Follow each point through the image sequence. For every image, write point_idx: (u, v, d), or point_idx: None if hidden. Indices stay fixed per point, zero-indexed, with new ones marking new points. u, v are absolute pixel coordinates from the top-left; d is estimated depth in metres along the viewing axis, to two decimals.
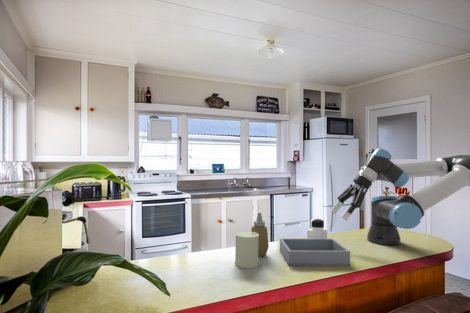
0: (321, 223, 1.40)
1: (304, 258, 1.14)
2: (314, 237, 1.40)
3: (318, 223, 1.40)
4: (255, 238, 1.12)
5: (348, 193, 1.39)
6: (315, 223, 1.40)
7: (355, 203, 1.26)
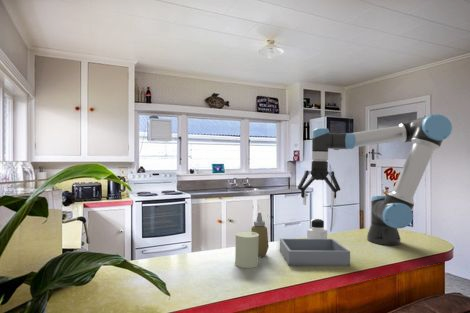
0: (321, 223, 1.40)
1: (304, 258, 1.14)
2: (314, 237, 1.40)
3: (318, 223, 1.40)
4: (255, 238, 1.12)
5: (325, 180, 1.44)
6: (315, 223, 1.40)
7: (297, 187, 1.43)
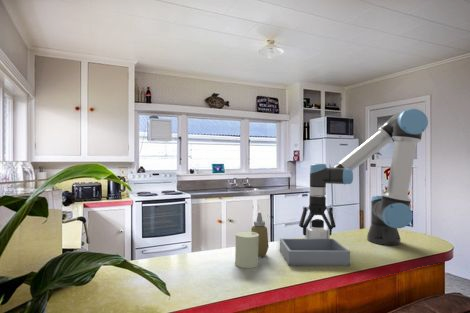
0: (321, 223, 1.40)
1: (304, 258, 1.14)
2: (314, 237, 1.40)
3: (318, 223, 1.40)
4: (255, 238, 1.12)
5: (322, 216, 1.44)
6: (315, 223, 1.40)
7: (299, 225, 1.44)
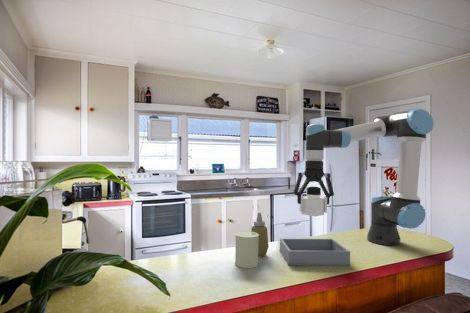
0: (317, 190, 1.26)
1: (304, 258, 1.14)
2: (309, 205, 1.26)
3: (314, 190, 1.26)
4: (255, 238, 1.12)
5: (319, 183, 1.30)
6: (311, 190, 1.26)
7: (293, 192, 1.30)
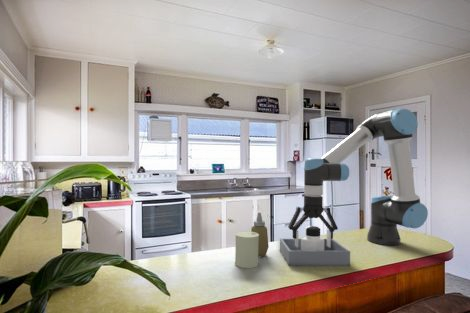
0: (317, 231, 1.21)
1: (304, 258, 1.14)
2: (309, 247, 1.21)
3: (314, 231, 1.21)
4: (255, 238, 1.12)
5: None
6: (310, 231, 1.21)
7: (288, 226, 1.24)
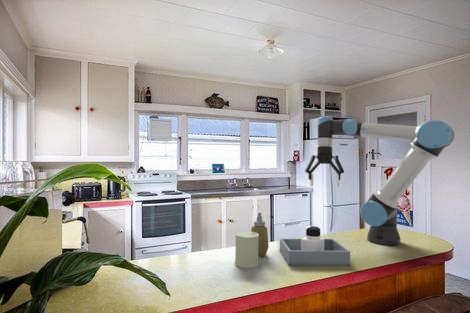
0: (317, 231, 1.21)
1: (304, 258, 1.14)
2: (309, 247, 1.21)
3: (314, 231, 1.21)
4: (255, 238, 1.12)
5: (330, 164, 1.58)
6: (310, 231, 1.21)
7: (305, 171, 1.58)
